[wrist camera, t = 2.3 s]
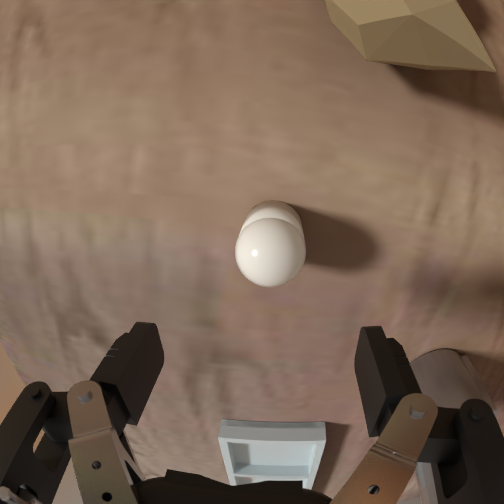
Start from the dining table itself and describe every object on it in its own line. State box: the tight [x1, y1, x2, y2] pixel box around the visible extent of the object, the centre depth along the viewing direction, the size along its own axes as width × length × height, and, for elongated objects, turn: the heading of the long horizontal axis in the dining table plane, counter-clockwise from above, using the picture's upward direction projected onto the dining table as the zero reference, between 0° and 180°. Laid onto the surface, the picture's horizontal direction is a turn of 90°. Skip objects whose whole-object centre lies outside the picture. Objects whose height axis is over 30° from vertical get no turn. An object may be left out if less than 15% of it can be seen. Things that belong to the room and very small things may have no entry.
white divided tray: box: [218, 419, 326, 490], centre depth 39 cm, size 13×34×3 cm, turn 2°
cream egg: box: [235, 200, 306, 287], centre depth 21 cm, size 5×5×7 cm
